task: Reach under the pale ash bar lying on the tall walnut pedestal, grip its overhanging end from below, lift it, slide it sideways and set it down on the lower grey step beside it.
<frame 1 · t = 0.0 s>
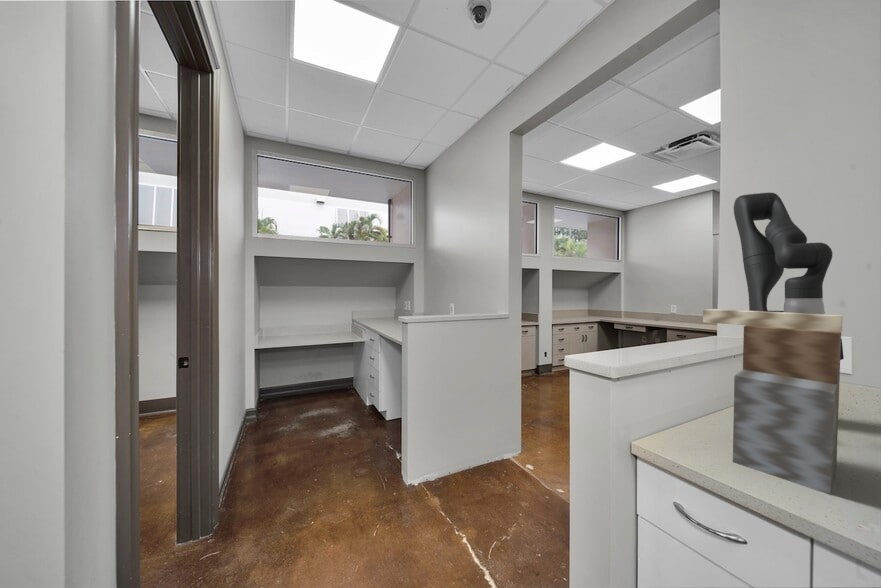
hand: (804, 373, 89), 17 cm above the countertop, tool pointing down, fingers open, 8 cm apart
ash bar: (765, 326, 80), point 32 cm above the countertop, touching stepped pedestal
stepped pedestal: (783, 463, 76), on the countertop
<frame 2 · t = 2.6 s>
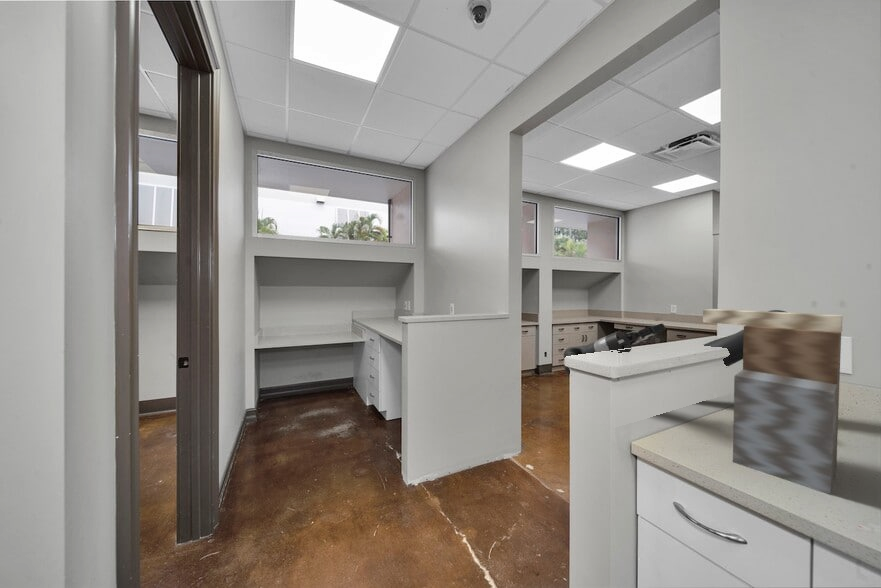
hand: (658, 327, 99), 29 cm above the countertop, tool pointing upward, fingers open, 8 cm apart
nothing on the countertop moved.
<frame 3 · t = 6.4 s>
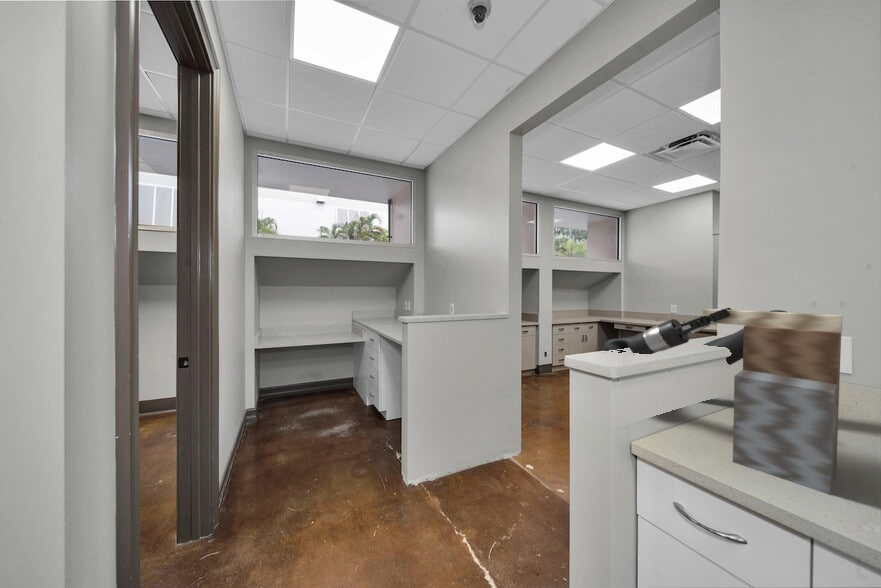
hand: (729, 311, 86), 35 cm above the countertop, tool pointing upward, fingers closed on ash bar, 3 cm apart
ash bar: (765, 326, 80), point 32 cm above the countertop, touching gripper, stepped pedestal
everything else where it was.
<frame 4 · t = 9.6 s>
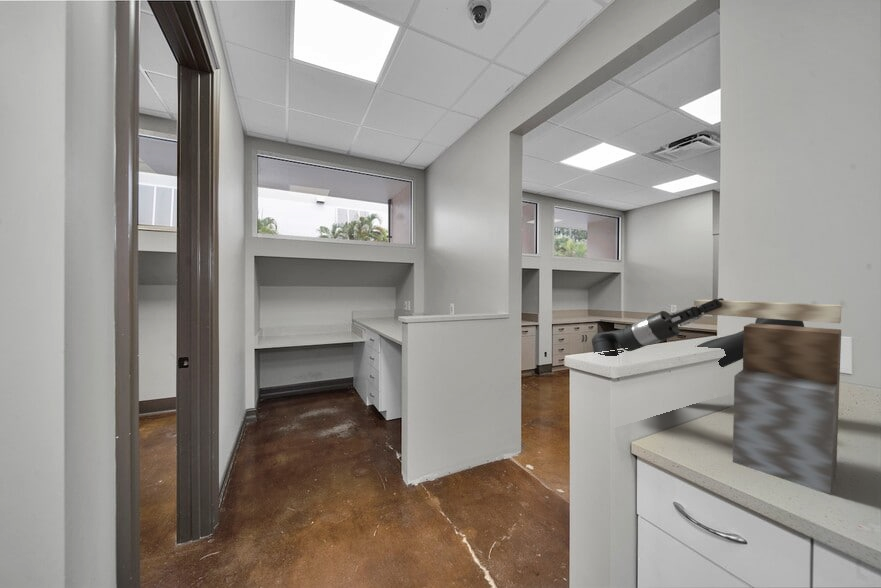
hand: (721, 302, 81), 38 cm above the countertop, tool pointing upward, fingers closed on ash bar, 3 cm apart
ash bar: (758, 317, 75), point 35 cm above the countertop, touching gripper
everything else where it was.
when the fingers open (25 cm above the countertop, at t = 12.7 s): ash bar drops 1 cm, resting on stepped pedestal.
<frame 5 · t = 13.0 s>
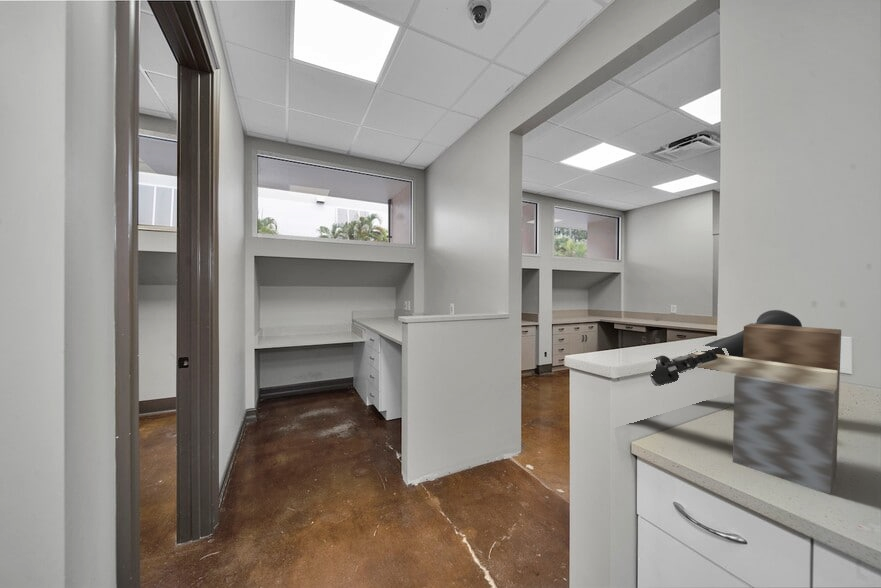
hand: (718, 352, 82), 25 cm above the countertop, tool pointing upward, fingers open, 5 cm apart
ash bar: (756, 375, 76), point 21 cm above the countertop, touching stepped pedestal
everything else where it was.
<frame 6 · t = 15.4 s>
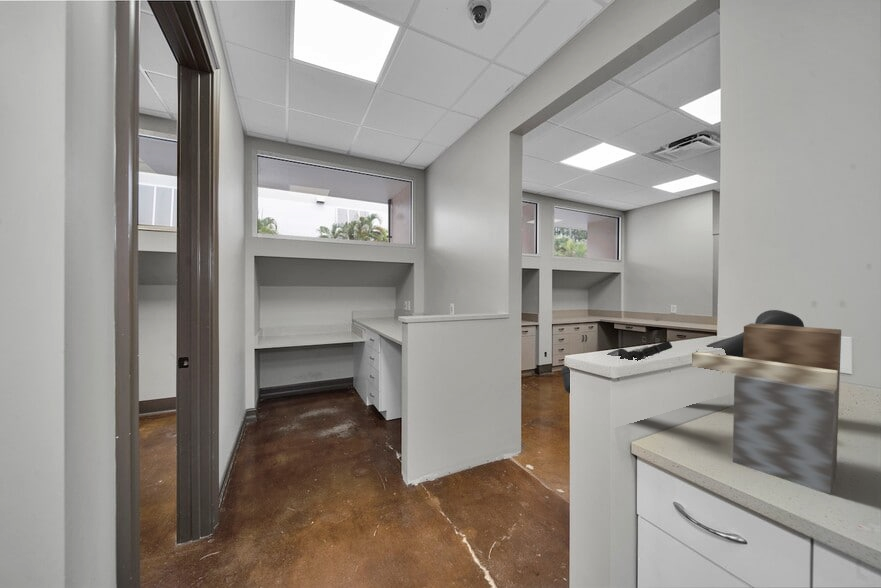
hand: (664, 346, 91), 25 cm above the countertop, tool pointing upward, fingers open, 8 cm apart
nothing on the countertop moved.
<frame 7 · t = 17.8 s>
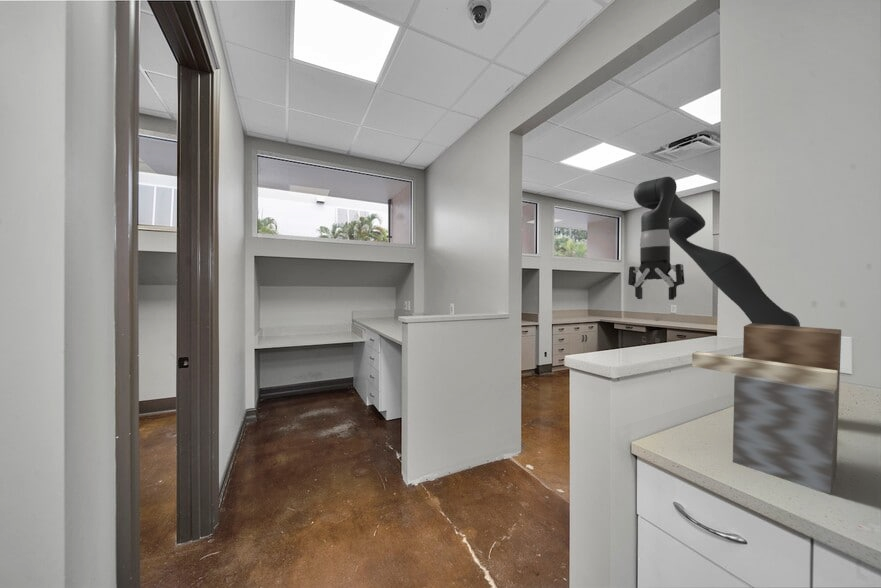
hand: (654, 299, 98), 38 cm above the countertop, tool pointing down, fingers open, 8 cm apart
nothing on the countertop moved.
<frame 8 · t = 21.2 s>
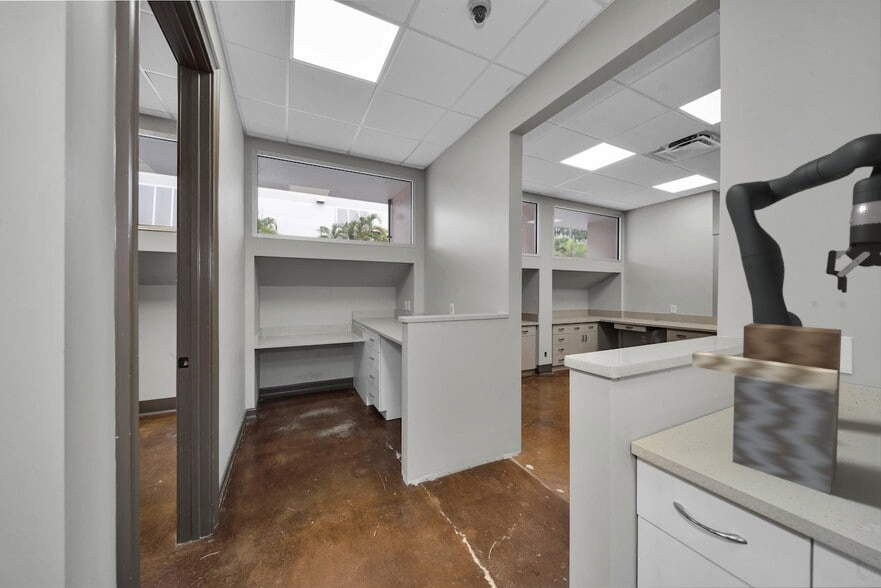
hand: (873, 292, 75), 40 cm above the countertop, tool pointing down, fingers open, 8 cm apart
nothing on the countertop moved.
at the end: ash bar inside the target area (0.6 cm from its centre), point 21.0 cm above the countertop; ash bar tilted 0°; the gripper is holding nothing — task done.
